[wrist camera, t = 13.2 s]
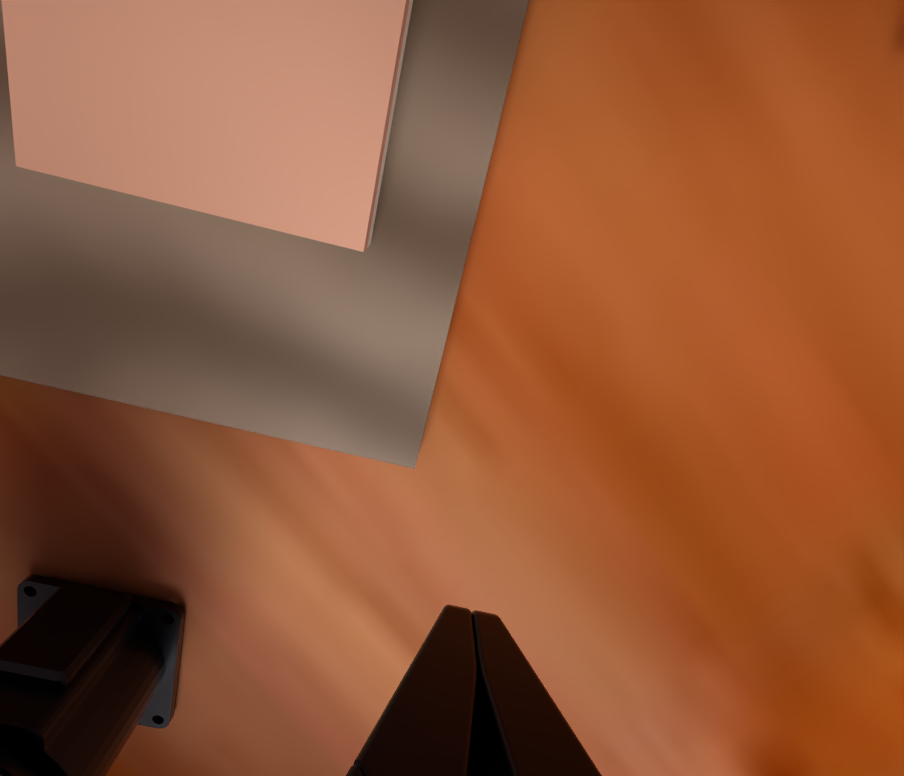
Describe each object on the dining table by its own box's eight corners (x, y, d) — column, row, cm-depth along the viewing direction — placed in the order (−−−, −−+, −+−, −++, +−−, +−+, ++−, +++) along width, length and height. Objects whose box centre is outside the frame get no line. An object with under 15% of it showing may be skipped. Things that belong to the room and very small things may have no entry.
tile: (411, -33, 14) (416, -21, 15) (-12, -152, 13) (26, -130, 14) (363, 252, 16) (370, 244, 18) (15, 166, 16) (45, 163, 17)
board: (416, 456, 21) (414, 468, 20) (-21, 357, 20) (-45, 365, 19) (558, -124, 15) (564, -145, 14) (-38, -298, 14) (-74, -333, 14)
